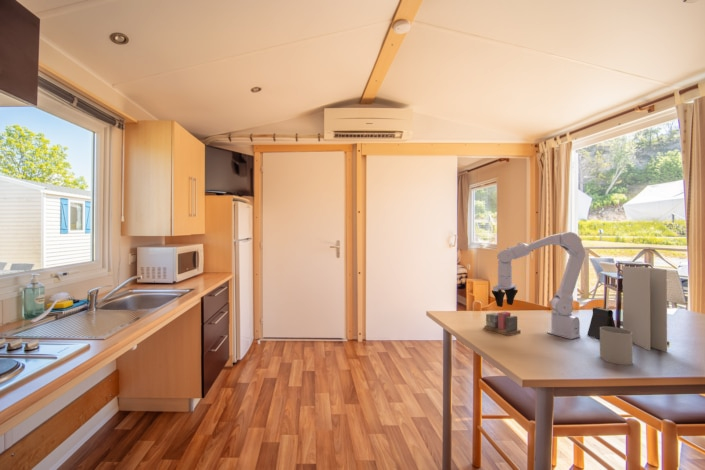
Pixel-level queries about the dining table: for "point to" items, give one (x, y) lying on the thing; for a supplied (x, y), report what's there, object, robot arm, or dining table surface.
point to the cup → (616, 345)
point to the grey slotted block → (510, 324)
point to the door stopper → (600, 321)
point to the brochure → (645, 306)
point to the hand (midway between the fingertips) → (504, 305)
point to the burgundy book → (502, 320)
